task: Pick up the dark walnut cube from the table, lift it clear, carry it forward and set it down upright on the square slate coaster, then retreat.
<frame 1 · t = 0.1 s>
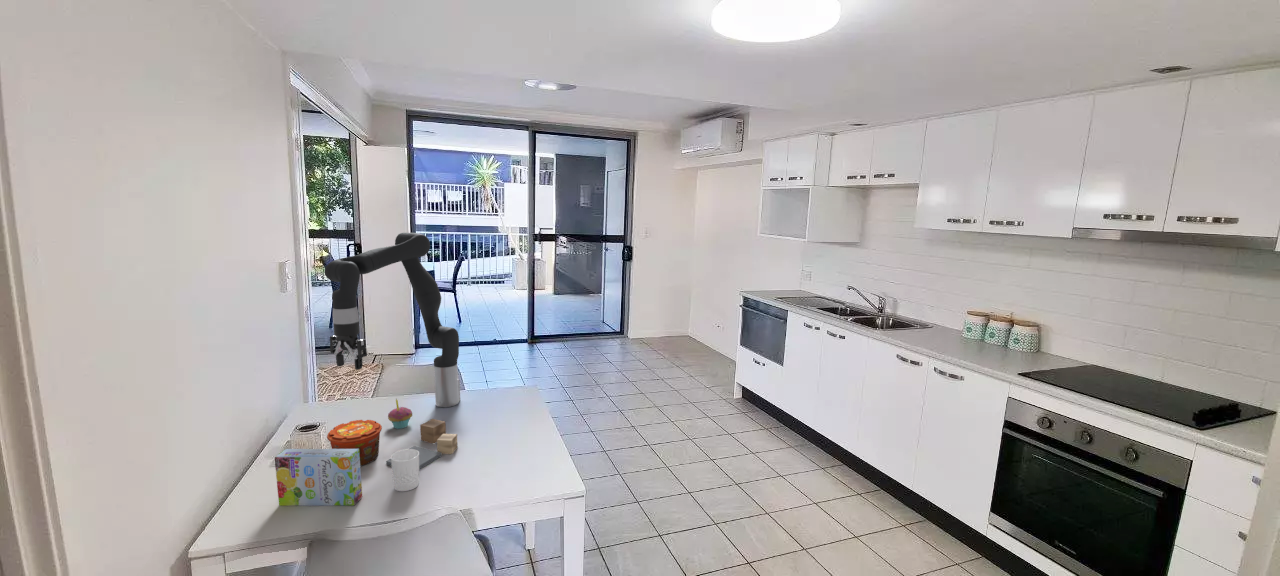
hand: (349, 367, 180), 29 cm above the table, fingers open, 8 cm apart
oak block: (447, 450, 185), on the table
slate coaster: (414, 460, 177), on the table
white cup: (406, 486, 162), on the table
walnut block: (433, 438, 193), on the table
food container: (357, 459, 178), on the table
cupcake: (400, 426, 203), on the table
snack box: (321, 501, 153), on the table
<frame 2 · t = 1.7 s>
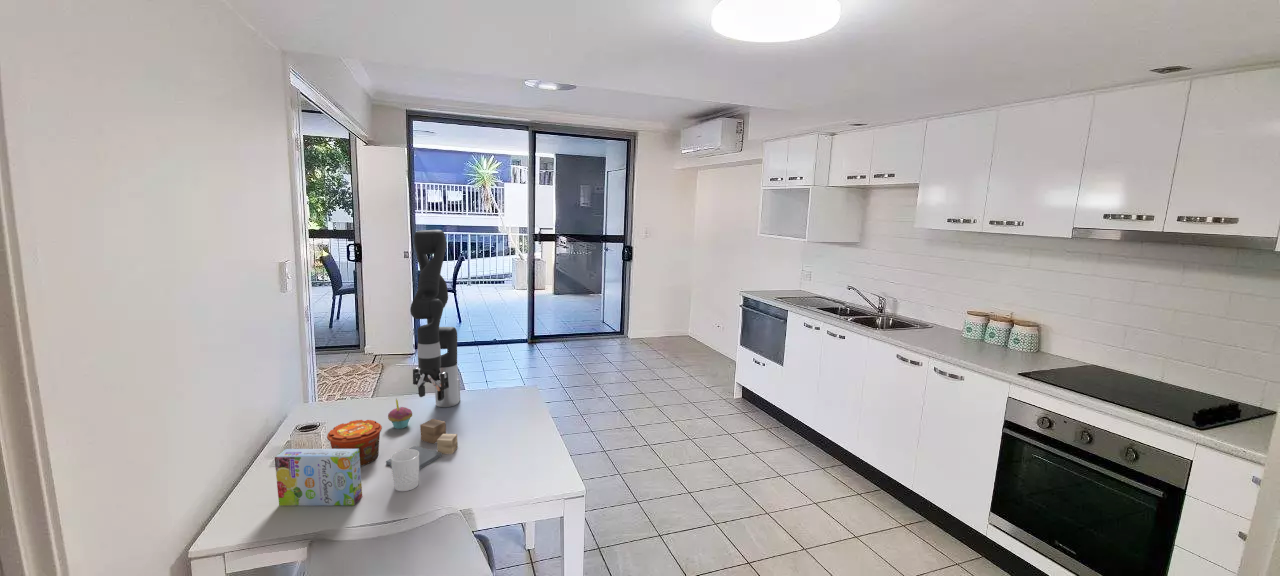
hand: (431, 398, 191), 15 cm above the table, fingers open, 8 cm apart
nothing on the table moved.
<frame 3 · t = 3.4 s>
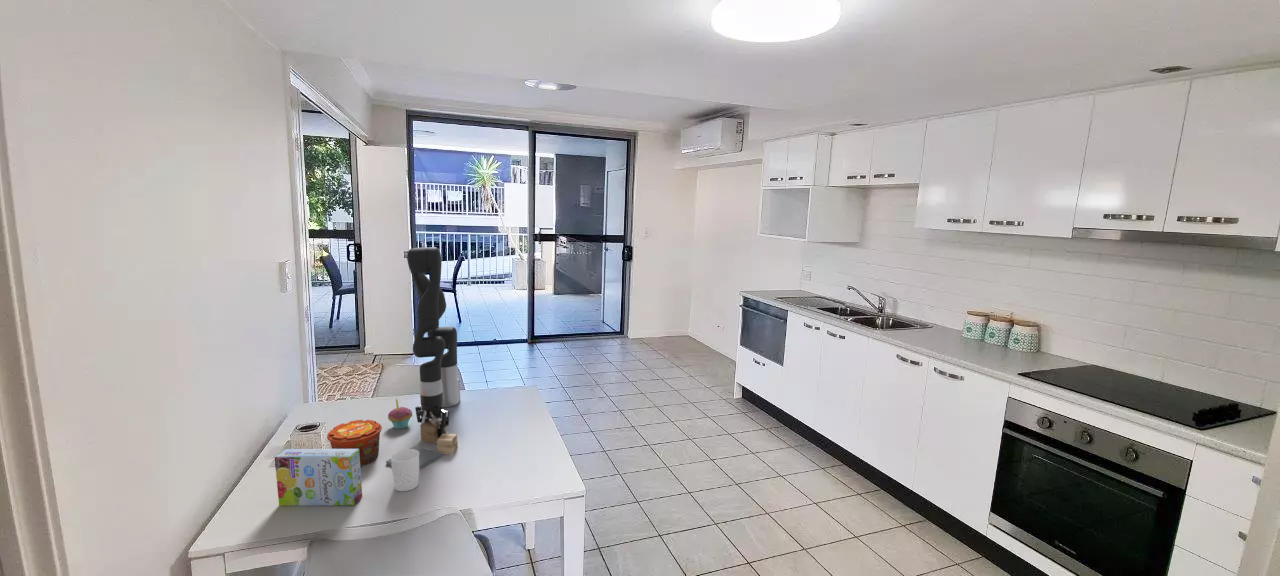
hand: (433, 435, 193), 1 cm above the table, fingers closed on walnut block, 6 cm apart
walnut block: (433, 438, 193), on the table, touching gripper
everything else where it was.
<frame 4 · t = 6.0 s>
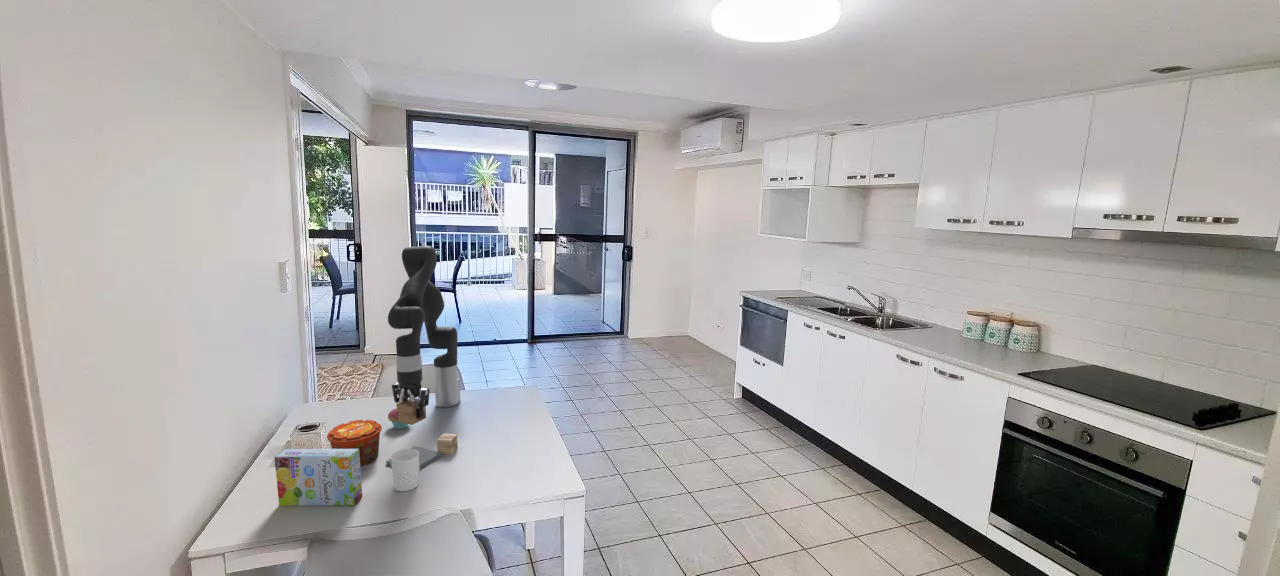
hand: (412, 416, 175), 15 cm above the table, fingers closed on walnut block, 6 cm apart
walnut block: (412, 419, 175), point 14 cm above the table, touching gripper
everything else where it was.
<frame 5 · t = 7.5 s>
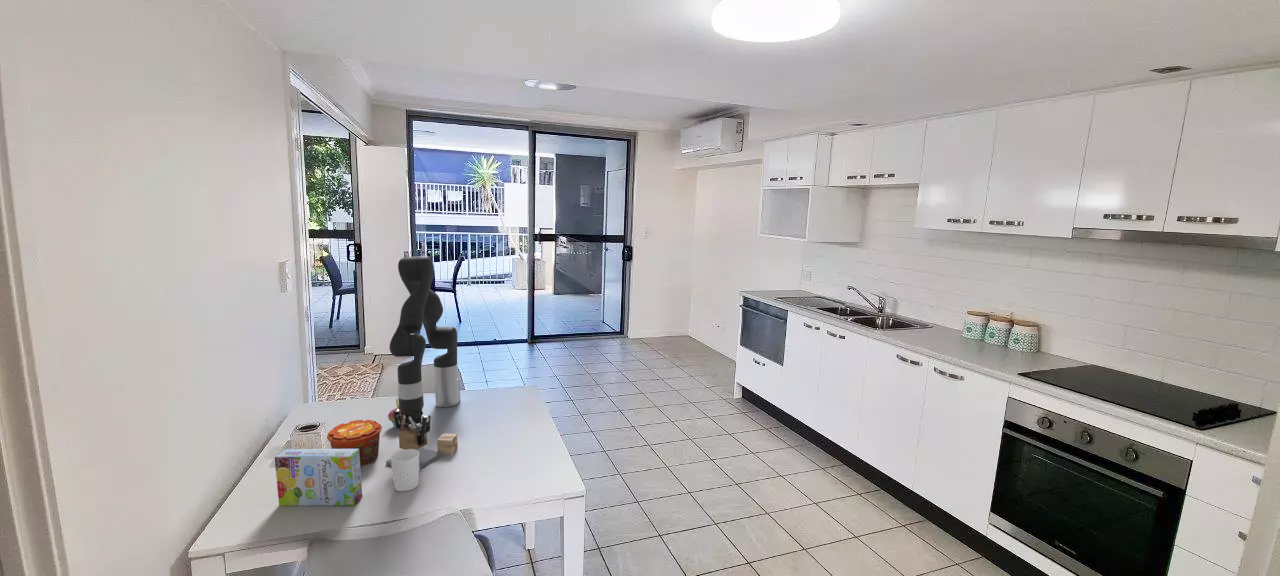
hand: (413, 442, 176), 6 cm above the table, fingers closed on walnut block, 6 cm apart
walnut block: (413, 446, 176), point 5 cm above the table, touching gripper
everything else where it was.
when the fingers open (4 cm above the table, at t = 8.6 s): walnut block drops 1 cm, resting on slate coaster.
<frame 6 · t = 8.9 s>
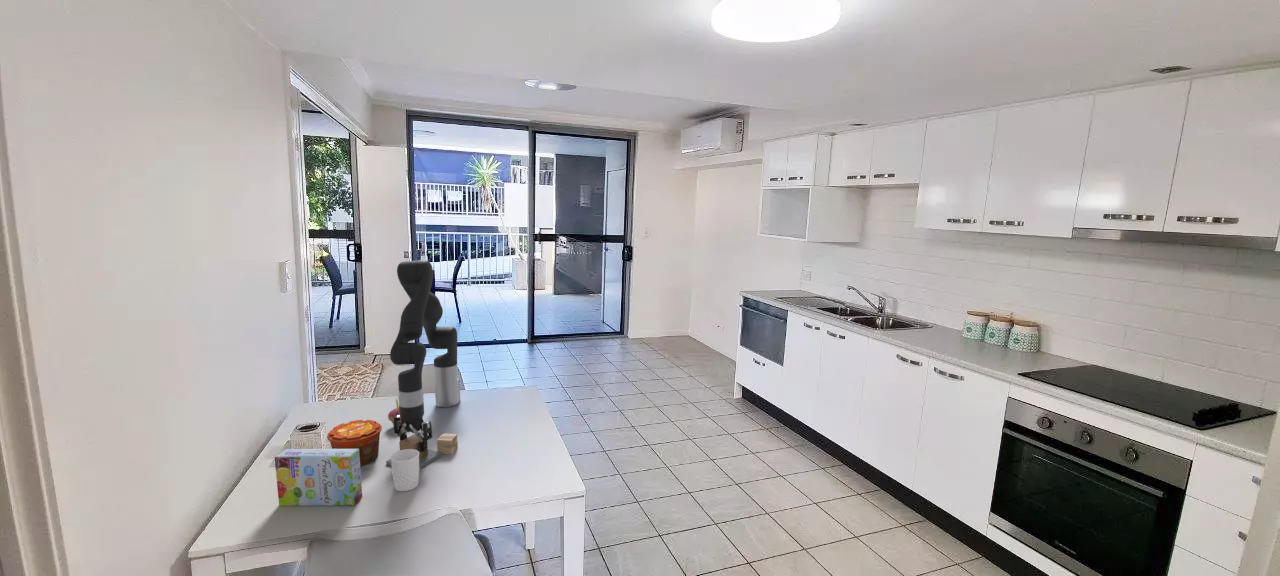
hand: (413, 448, 177), 4 cm above the table, fingers open, 8 cm apart
walnut block: (414, 456, 177), point 1 cm above the table, touching slate coaster
everything else where it was.
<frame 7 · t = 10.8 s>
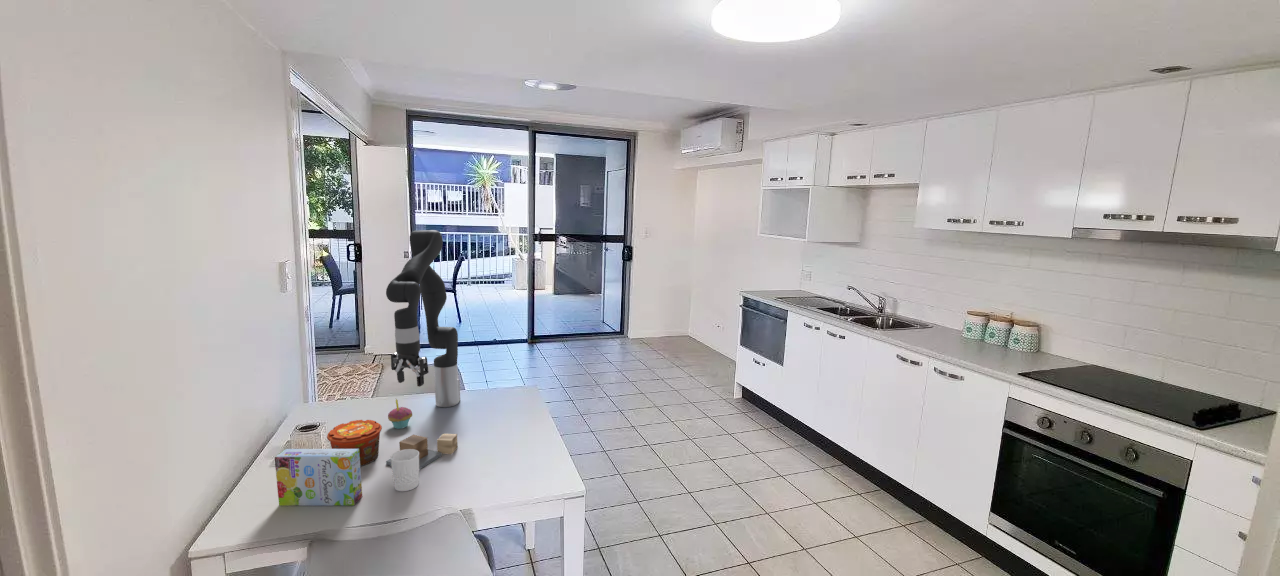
hand: (410, 383, 185), 22 cm above the table, fingers open, 8 cm apart
nothing on the table moved.
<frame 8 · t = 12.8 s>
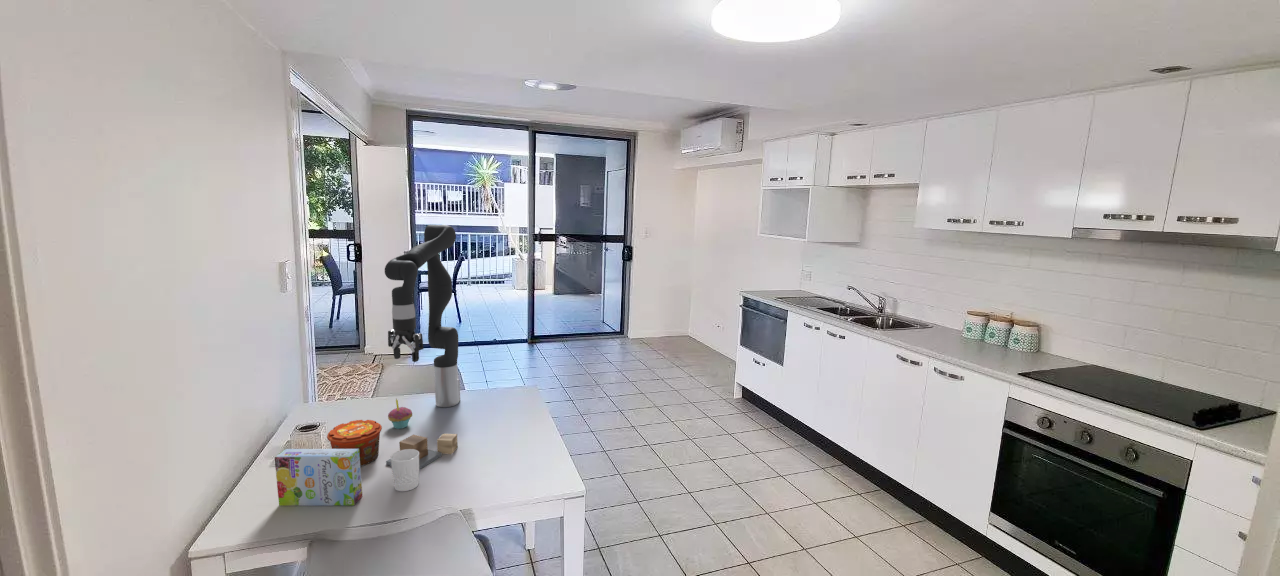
hand: (406, 359, 193), 28 cm above the table, fingers open, 8 cm apart
nothing on the table moved.
at the end: walnut block inside the target area on the slate coaster (0.0 cm from its centre), point 1.2 cm above the slate coaster's base; walnut block tilted 0°; the gripper is holding nothing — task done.
